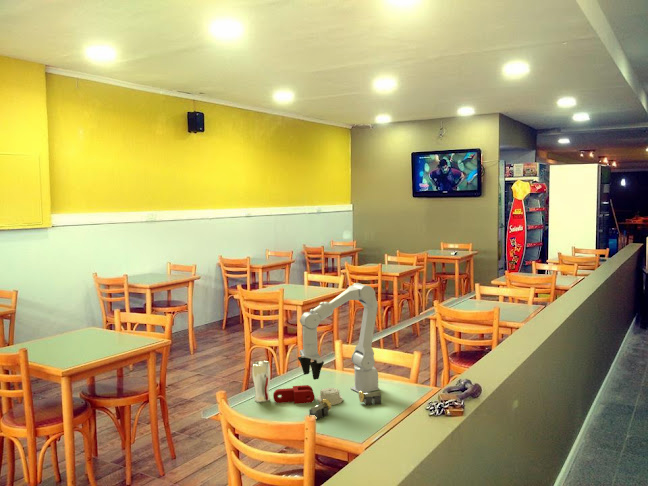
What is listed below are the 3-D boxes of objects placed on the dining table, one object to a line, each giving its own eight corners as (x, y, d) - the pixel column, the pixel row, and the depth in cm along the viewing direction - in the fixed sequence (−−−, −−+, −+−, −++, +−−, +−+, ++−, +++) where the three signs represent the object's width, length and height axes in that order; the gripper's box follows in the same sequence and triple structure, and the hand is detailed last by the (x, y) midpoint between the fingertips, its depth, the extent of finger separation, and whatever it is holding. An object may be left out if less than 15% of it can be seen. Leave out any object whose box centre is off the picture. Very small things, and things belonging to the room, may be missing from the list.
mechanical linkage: (312, 396, 236) (312, 384, 236) (314, 403, 229) (314, 390, 229) (273, 399, 234) (272, 387, 234) (273, 406, 227) (273, 393, 227)
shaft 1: (322, 411, 220) (322, 397, 220) (331, 413, 217) (331, 400, 217) (308, 417, 214) (308, 403, 213) (317, 420, 211) (317, 406, 211)
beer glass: (274, 398, 235) (273, 361, 234) (265, 403, 229) (264, 366, 228) (259, 395, 238) (258, 359, 237) (250, 401, 232) (248, 364, 231)
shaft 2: (361, 406, 224) (361, 392, 224) (358, 402, 228) (358, 389, 228) (381, 404, 226) (381, 391, 225) (378, 400, 230) (378, 387, 229)
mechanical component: (315, 405, 227) (340, 406, 225) (314, 394, 227) (340, 395, 225) (320, 396, 237) (344, 397, 235) (320, 385, 237) (344, 386, 235)
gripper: (292, 340, 236) (293, 373, 237) (310, 348, 223) (311, 383, 224) (307, 338, 239) (308, 370, 240) (326, 345, 227) (327, 379, 228)
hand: (311, 376), depth 233 cm, fingers open, 7 cm apart
